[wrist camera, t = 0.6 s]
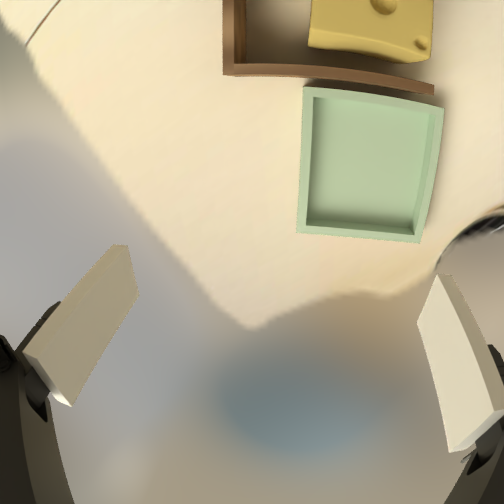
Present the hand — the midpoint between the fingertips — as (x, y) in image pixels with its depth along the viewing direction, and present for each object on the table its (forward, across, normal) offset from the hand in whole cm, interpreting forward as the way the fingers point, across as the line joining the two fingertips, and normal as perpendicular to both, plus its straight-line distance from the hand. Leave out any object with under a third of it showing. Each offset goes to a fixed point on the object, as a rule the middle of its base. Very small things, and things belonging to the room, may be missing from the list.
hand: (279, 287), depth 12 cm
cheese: (+24, +6, +16) cm, 30 cm away
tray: (+24, +8, 0) cm, 25 cm away
